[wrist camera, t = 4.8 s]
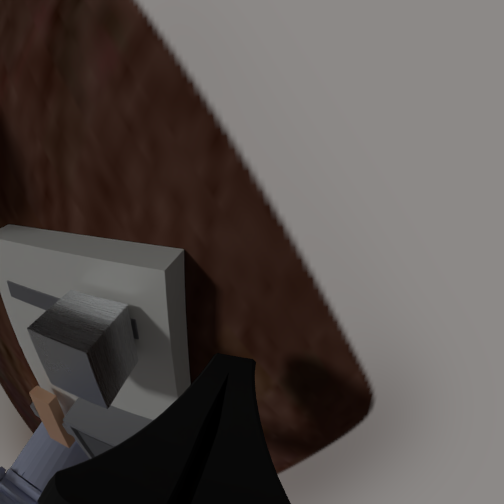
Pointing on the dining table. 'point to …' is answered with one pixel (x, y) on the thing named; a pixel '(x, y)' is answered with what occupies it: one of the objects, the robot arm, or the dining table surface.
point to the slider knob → (86, 346)
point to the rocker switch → (51, 415)
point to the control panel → (112, 288)
